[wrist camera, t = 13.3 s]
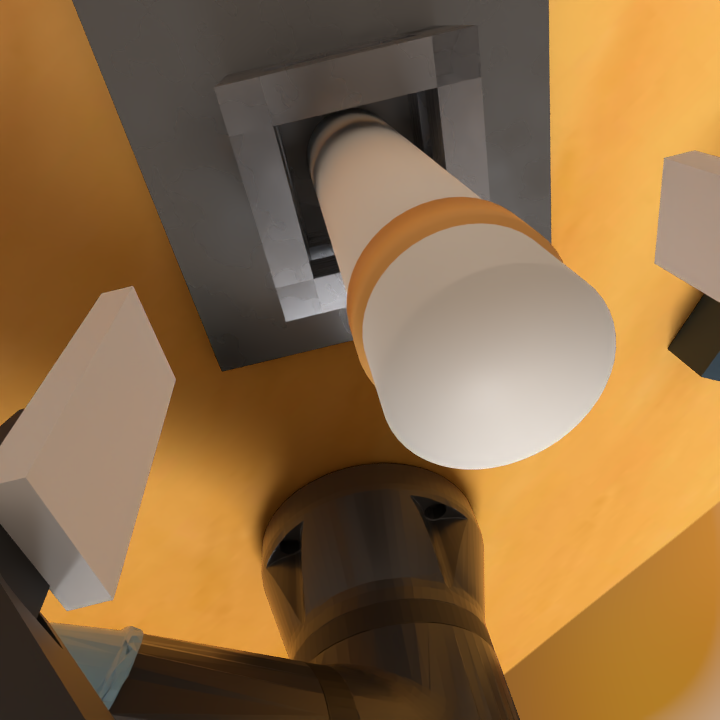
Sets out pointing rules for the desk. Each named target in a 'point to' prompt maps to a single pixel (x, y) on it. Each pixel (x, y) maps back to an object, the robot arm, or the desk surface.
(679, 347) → the watch
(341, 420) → the desk surface
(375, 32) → the collar stand
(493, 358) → the tube
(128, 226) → the desk surface
